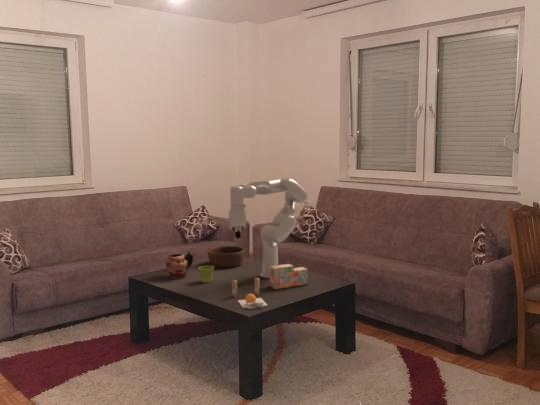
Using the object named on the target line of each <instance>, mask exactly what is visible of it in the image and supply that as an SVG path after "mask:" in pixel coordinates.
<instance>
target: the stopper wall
mask: <svg viewBox="0 0 540 405" xmlns="http://www.w3.org/2000/svg"><path fill="white" fill-rule="evenodd" d="M261 308H264V306H263V302H255V303H247V308H246V309H248V310H250V309H261Z"/></svg>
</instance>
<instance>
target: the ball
mask: <svg viewBox="0 0 540 405" xmlns="http://www.w3.org/2000/svg"><path fill="white" fill-rule="evenodd" d="M256 298H257V297H256V295H255V294H254V293H248V294H247V295H245V298H244V300H245V301H246V303H255V301H256Z"/></svg>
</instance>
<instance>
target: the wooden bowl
mask: <svg viewBox="0 0 540 405" xmlns="http://www.w3.org/2000/svg"><path fill="white" fill-rule="evenodd" d="M245 251H246V249H245V248H243V247H241V246H236V245H222V246H215V247H211V248H209V249H208V250H207V257H208V261H209V263H210V264H211V266H213V267H214V268H221V269H227V268H231V269H232V268H236V267H238V266H241V265H242V263H243V262H244V259H245V255H246V254H245V253H246V252H245Z"/></svg>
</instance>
